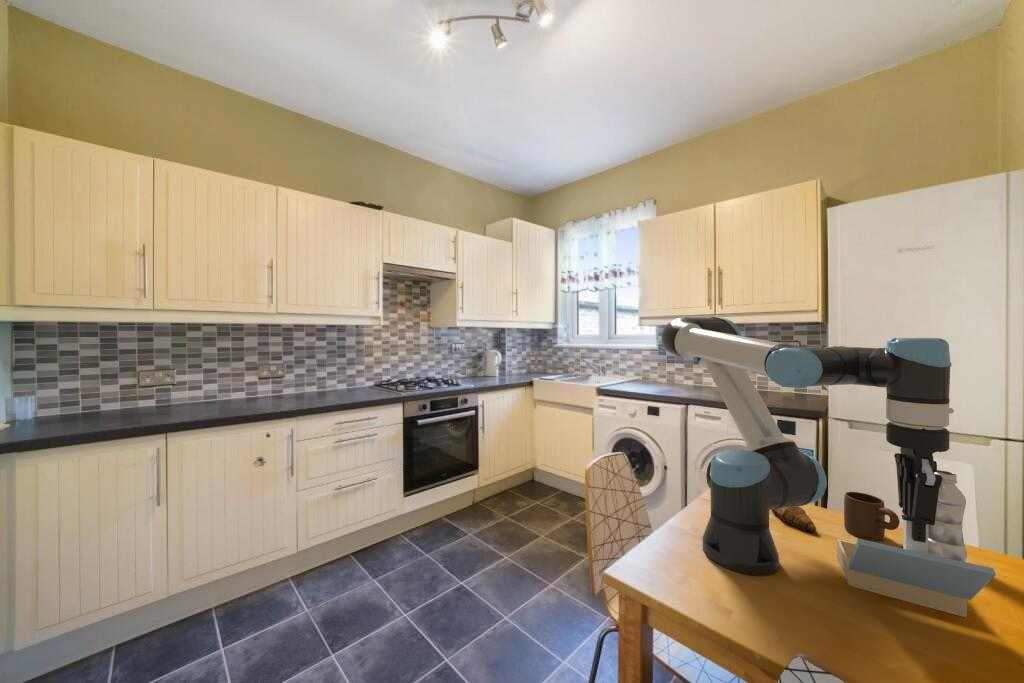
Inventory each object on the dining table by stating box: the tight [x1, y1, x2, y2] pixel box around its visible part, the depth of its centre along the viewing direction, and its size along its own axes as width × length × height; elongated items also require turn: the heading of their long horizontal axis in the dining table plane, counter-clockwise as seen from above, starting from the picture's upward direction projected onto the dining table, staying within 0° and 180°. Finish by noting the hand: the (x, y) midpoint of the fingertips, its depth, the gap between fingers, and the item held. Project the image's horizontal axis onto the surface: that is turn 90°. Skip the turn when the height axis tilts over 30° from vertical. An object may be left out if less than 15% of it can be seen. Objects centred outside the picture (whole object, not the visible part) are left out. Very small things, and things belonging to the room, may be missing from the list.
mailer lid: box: [849, 538, 997, 601], centre depth 66 cm, size 16×12×1 cm
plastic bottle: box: [928, 469, 968, 562], centre depth 83 cm, size 6×7×20 cm
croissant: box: [770, 506, 817, 533], centre depth 101 cm, size 14×7×5 cm, turn 6°
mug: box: [843, 491, 900, 542], centre depth 92 cm, size 12×8×9 cm, turn 2°
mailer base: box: [836, 538, 968, 619], centre depth 75 cm, size 16×12×4 cm
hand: (915, 555), depth 65 cm, fingers closed
